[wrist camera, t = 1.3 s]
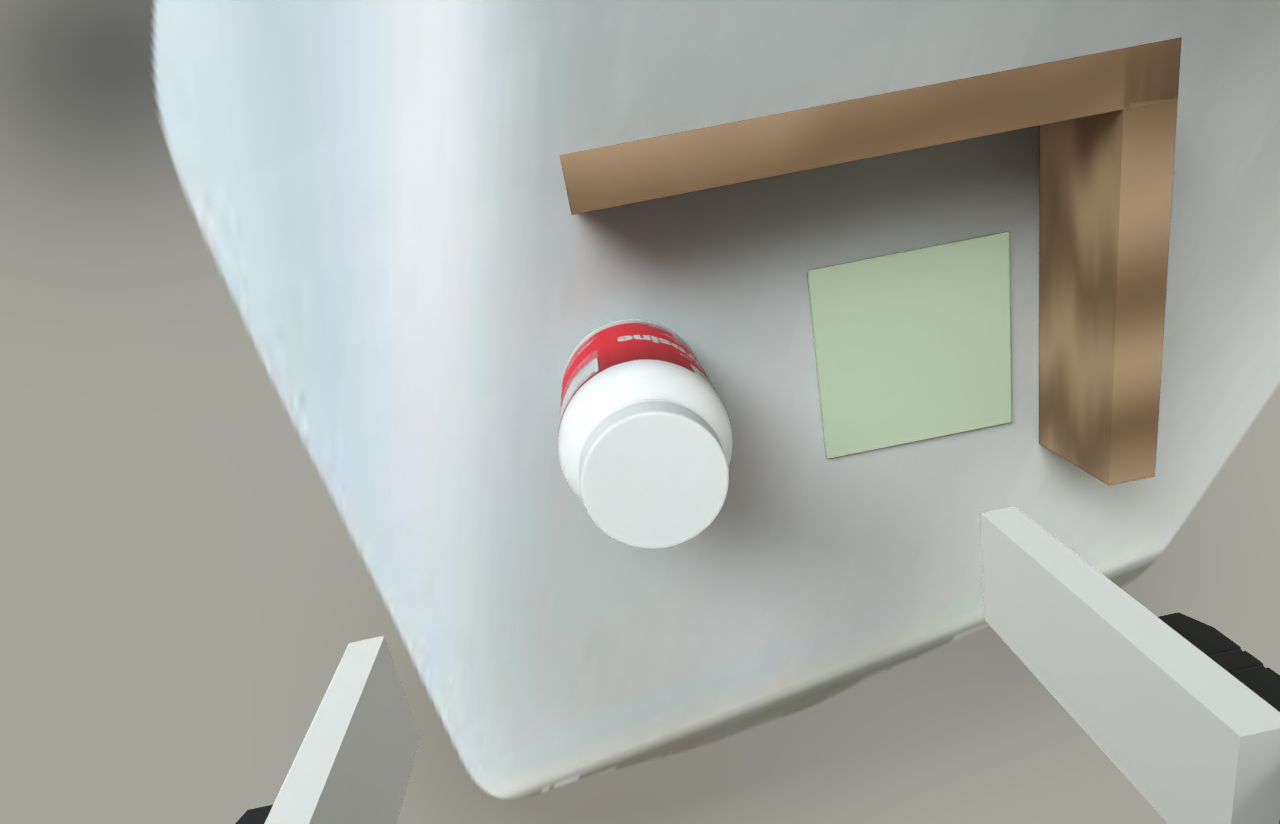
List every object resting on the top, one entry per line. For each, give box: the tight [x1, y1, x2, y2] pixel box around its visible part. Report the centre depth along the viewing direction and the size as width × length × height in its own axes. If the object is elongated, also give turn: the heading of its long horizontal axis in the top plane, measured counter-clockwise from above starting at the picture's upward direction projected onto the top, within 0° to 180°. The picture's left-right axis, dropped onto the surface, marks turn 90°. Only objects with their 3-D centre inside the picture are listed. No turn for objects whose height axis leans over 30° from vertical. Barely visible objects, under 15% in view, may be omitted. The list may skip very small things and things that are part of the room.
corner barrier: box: [560, 38, 1181, 486], centre depth 31 cm, size 17×22×5 cm
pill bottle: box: [558, 319, 733, 549], centre depth 28 cm, size 6×6×11 cm
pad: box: [807, 232, 1011, 459], centre depth 34 cm, size 9×9×1 cm
